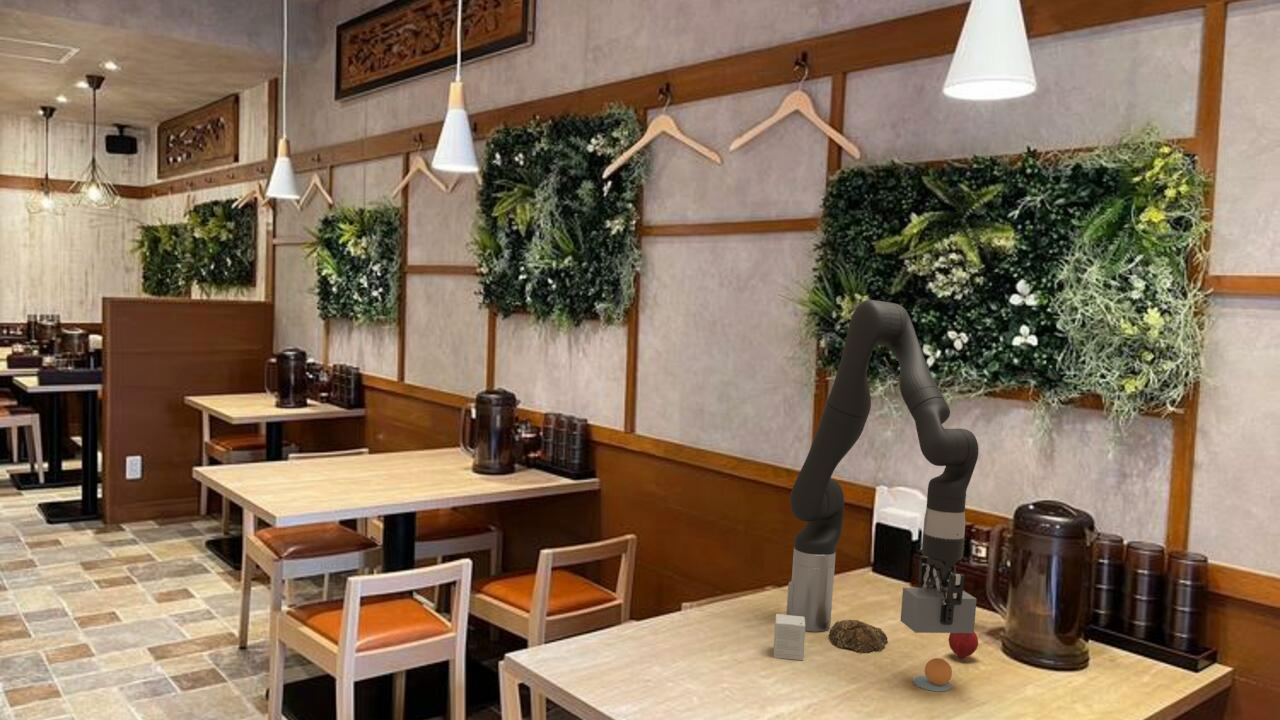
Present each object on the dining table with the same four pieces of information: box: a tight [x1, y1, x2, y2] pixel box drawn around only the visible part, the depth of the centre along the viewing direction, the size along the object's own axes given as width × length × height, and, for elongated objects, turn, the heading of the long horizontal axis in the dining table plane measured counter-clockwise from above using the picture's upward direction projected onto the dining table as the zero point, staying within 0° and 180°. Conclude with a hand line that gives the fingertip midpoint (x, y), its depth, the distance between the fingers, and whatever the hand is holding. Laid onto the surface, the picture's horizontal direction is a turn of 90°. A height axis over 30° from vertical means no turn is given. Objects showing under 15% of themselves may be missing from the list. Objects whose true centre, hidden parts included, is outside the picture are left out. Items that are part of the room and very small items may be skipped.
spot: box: [912, 675, 952, 693], centre depth 185 cm, size 7×7×1 cm
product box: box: [773, 613, 806, 661], centre depth 196 cm, size 6×6×7 cm
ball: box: [924, 657, 953, 685], centre depth 185 cm, size 5×5×5 cm
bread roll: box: [828, 619, 889, 654], centre depth 206 cm, size 13×12×5 cm
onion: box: [948, 631, 979, 659], centre depth 199 cm, size 6×6×8 cm
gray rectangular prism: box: [900, 587, 977, 634], centre depth 184 cm, size 12×7×7 cm, turn 99°
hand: (937, 617), depth 184 cm, fingers closed on gray rectangular prism, 6 cm apart
